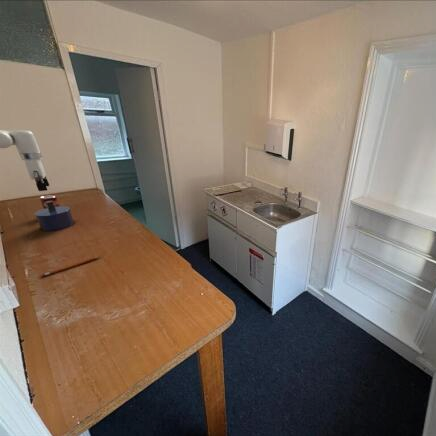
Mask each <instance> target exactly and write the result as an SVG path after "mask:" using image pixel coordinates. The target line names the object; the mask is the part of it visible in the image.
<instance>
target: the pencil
mask: <svg viewBox="0 0 436 436" xmlns="http://www.w3.org/2000/svg"><path fill="white" fill-rule="evenodd" d="M99 258H100V256H96V257H91V258H89V259H85V260H82V261H79V262H76V263H73V264H70V265H67V266H64V267H61V268H58V269H55V270H51V271H48V272H46V273H42V277H46V276H49V275H52V274H55V273H58V272H61V271H64V270H67V269H70V268H73V267H76V266H79V265H83V264H85V263H88V262H91V261H94V260H97V259H99Z"/></svg>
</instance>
